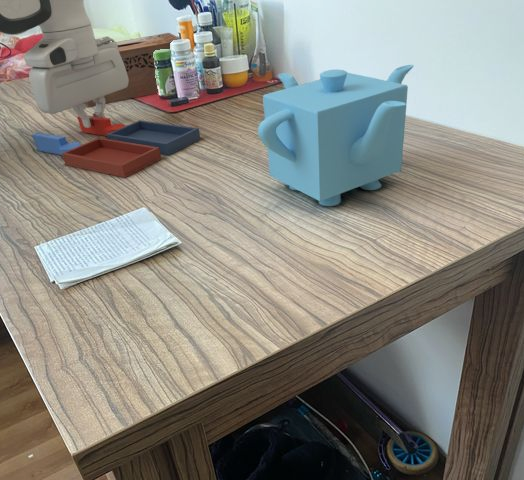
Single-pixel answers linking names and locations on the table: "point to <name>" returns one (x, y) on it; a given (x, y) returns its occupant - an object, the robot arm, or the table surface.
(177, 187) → the table surface
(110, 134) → the blue tray
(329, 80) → the teakettle
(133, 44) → the tissue box cover
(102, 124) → the red block with disc
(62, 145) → the blue stepped block
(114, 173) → the red tray
